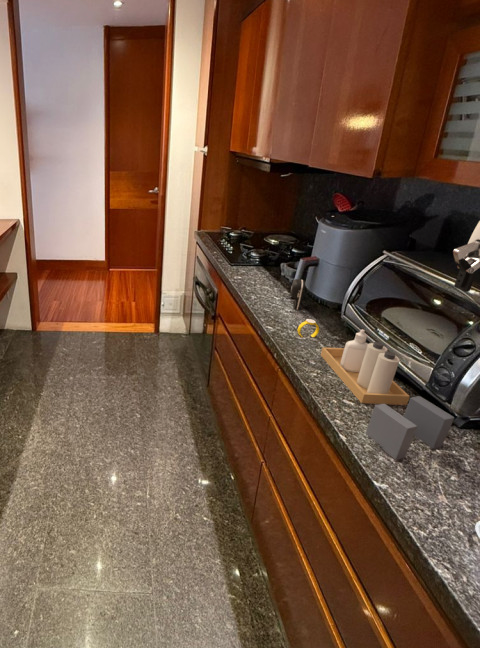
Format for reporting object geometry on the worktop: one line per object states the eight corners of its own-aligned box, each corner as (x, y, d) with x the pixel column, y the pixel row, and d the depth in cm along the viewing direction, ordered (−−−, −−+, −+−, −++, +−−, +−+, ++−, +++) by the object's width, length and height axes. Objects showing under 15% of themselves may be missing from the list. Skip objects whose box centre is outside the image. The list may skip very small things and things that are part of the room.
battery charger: (287, 305, 144) (292, 276, 140) (298, 307, 142) (304, 278, 138) (287, 313, 138) (293, 283, 134) (298, 315, 137) (305, 285, 132)
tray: (320, 356, 112) (322, 347, 110) (356, 358, 111) (359, 348, 110) (360, 405, 92) (364, 394, 91) (405, 407, 91) (409, 396, 90)
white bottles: (353, 379, 100) (365, 339, 96) (369, 380, 100) (382, 339, 96) (372, 400, 93) (386, 357, 88) (390, 401, 92) (405, 358, 88)
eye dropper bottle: (362, 376, 102) (374, 336, 97) (338, 368, 105) (348, 329, 101) (365, 369, 105) (377, 330, 100) (341, 361, 108) (352, 323, 104)
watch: (298, 339, 121) (302, 322, 118) (294, 335, 123) (298, 318, 121) (318, 340, 120) (322, 323, 118) (314, 335, 123) (318, 318, 121)
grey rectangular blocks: (408, 425, 86) (419, 395, 83) (441, 448, 80) (454, 417, 76) (364, 435, 83) (374, 405, 80) (395, 460, 77) (407, 428, 74)
